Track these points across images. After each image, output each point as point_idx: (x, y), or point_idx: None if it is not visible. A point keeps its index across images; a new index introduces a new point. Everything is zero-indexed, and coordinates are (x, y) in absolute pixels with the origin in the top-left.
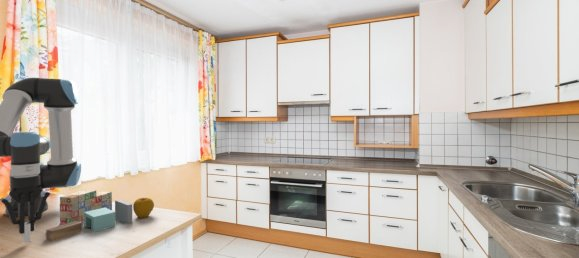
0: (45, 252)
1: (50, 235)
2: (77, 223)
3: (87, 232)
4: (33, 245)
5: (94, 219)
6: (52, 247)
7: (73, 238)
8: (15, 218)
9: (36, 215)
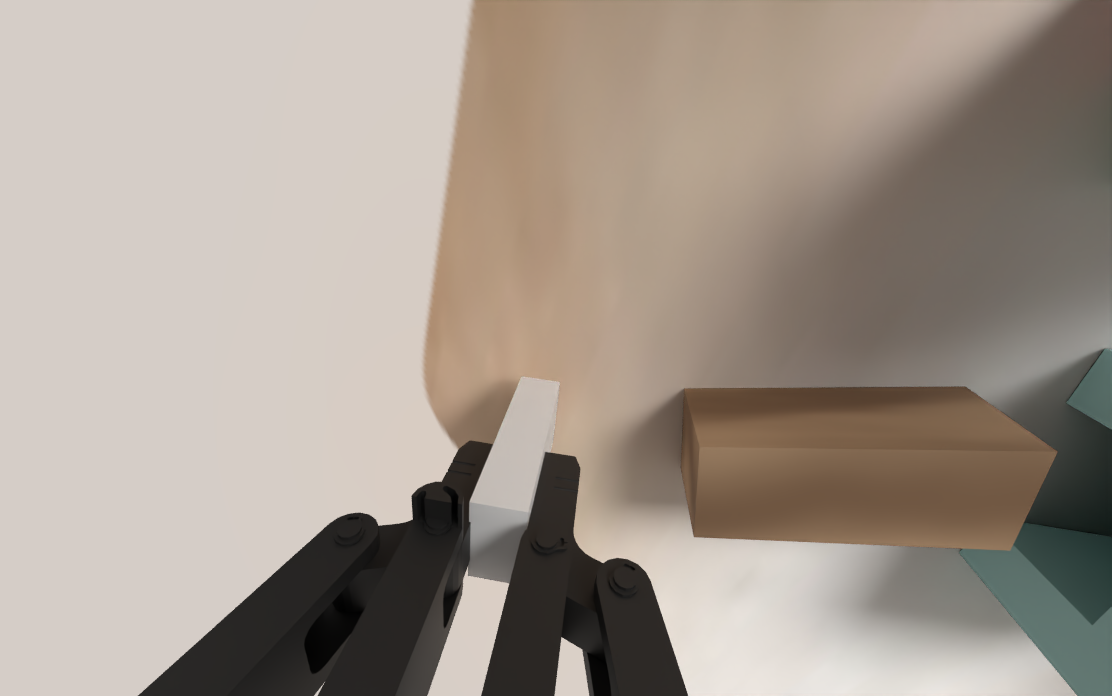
0: None
1: (688, 478)
2: (965, 541)
3: None
4: (571, 431)
5: (1070, 677)
6: None
7: None
8: (324, 670)
9: (609, 620)
